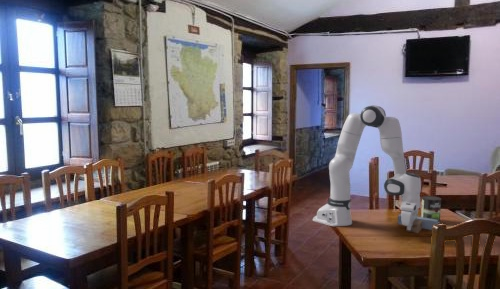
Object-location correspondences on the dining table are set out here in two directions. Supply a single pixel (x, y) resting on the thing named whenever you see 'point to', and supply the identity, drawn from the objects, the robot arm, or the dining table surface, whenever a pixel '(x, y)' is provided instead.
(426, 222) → the board
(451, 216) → the dining table surface
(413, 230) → the walnut block
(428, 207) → the coffee can
